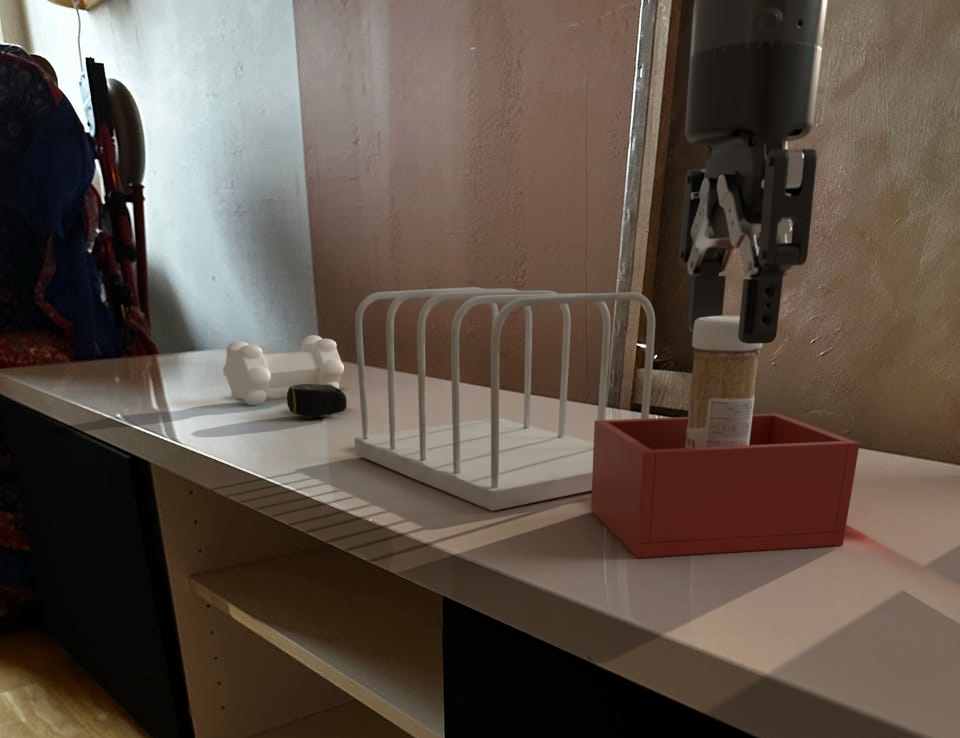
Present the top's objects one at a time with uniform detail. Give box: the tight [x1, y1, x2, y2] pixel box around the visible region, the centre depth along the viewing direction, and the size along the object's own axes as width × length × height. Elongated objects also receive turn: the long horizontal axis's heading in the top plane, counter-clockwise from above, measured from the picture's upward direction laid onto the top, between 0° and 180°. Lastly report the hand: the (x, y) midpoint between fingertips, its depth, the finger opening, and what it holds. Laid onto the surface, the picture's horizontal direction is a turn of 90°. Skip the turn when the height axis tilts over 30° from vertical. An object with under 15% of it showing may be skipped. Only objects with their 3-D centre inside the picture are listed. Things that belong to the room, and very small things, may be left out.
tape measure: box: [286, 384, 348, 420], centre depth 108 cm, size 7×7×4 cm
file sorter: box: [354, 286, 656, 511], centre depth 78 cm, size 25×17×16 cm
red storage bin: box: [590, 412, 861, 559], centre depth 62 cm, size 15×12×7 cm
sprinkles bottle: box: [685, 315, 763, 448], centre depth 60 cm, size 5×5×14 cm
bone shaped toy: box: [222, 334, 345, 406], centre depth 121 cm, size 15×9×8 cm, turn 132°
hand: (728, 337), depth 58 cm, fingers open, 8 cm apart
